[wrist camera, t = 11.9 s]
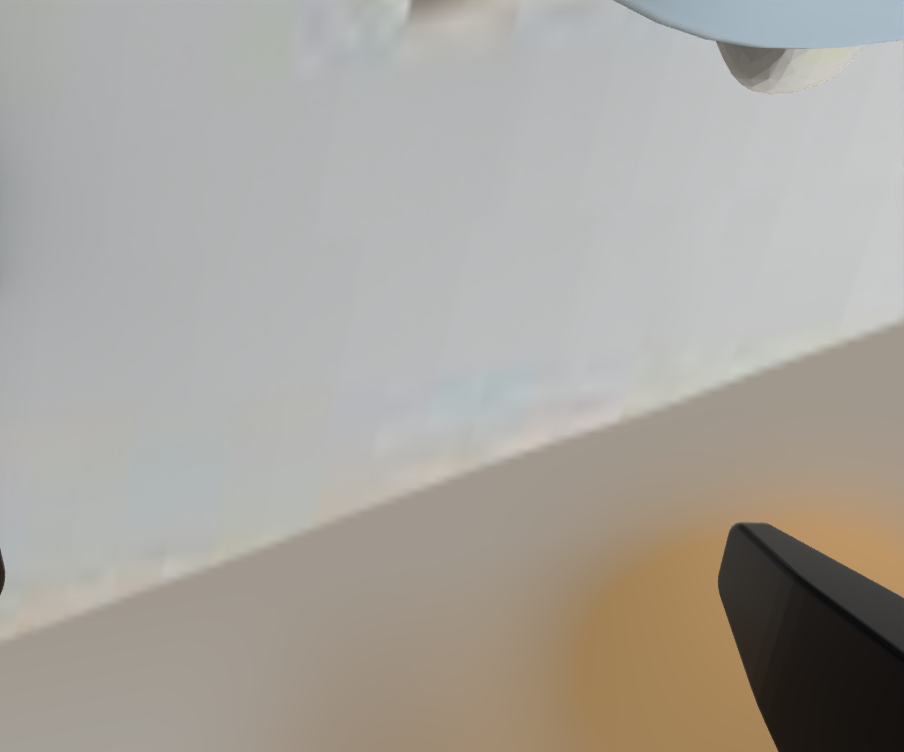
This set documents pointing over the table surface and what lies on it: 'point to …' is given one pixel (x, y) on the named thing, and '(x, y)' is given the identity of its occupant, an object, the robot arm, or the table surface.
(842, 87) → the table surface
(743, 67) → the teacup
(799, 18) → the lid
